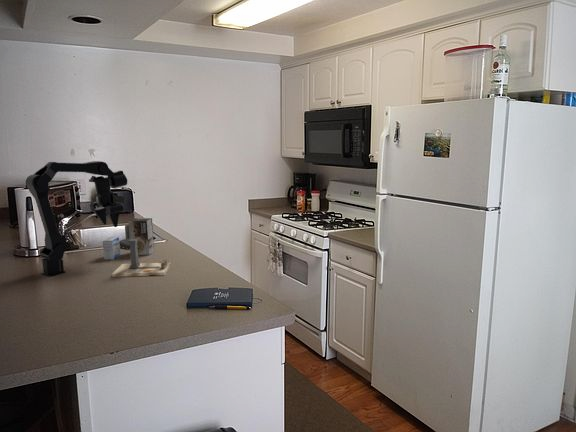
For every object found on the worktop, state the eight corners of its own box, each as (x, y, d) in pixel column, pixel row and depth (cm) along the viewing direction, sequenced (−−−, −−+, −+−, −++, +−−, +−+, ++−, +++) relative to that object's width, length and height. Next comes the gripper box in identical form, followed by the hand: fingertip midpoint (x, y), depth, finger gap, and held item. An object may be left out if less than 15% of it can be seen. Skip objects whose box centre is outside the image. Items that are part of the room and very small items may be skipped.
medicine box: (113, 259, 202) (112, 240, 200) (103, 259, 202) (102, 240, 201) (120, 255, 210) (119, 236, 208) (111, 255, 210) (109, 236, 208)
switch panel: (112, 276, 177) (111, 267, 176) (122, 266, 191) (121, 258, 190) (164, 275, 178) (164, 266, 178) (171, 265, 192) (170, 257, 191)
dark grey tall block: (129, 268, 182) (127, 241, 180) (132, 265, 186) (130, 238, 184) (137, 268, 182) (135, 240, 180) (140, 265, 186) (138, 238, 184)
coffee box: (154, 251, 216) (152, 218, 213) (149, 255, 209) (147, 220, 207) (136, 251, 217) (133, 217, 214) (130, 254, 210) (127, 220, 207)
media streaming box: (115, 245, 230) (115, 240, 229) (142, 241, 240) (142, 235, 239) (129, 250, 219) (128, 244, 219) (156, 245, 230) (156, 239, 229)
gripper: (132, 188, 194) (138, 223, 198) (109, 185, 206) (116, 218, 210) (107, 193, 186) (115, 230, 190) (86, 190, 198) (93, 225, 202)
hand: (110, 225), depth 199 cm, fingers open, 9 cm apart
